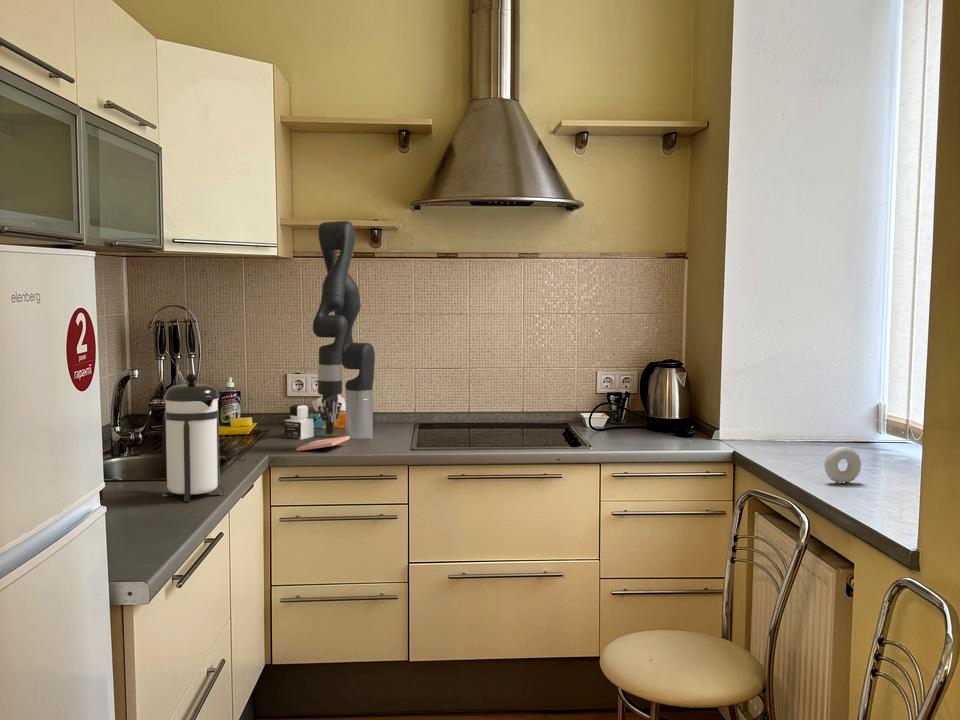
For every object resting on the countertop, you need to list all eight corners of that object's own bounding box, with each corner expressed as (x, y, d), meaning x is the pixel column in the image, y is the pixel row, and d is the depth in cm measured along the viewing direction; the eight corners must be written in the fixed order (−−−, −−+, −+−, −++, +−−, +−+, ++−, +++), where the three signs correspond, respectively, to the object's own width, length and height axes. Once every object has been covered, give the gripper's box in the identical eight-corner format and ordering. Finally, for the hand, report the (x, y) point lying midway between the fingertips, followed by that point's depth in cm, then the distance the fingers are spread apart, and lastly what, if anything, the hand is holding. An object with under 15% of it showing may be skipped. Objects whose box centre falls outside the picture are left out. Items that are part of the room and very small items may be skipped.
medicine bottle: (284, 440, 291) (283, 405, 291) (297, 437, 298) (297, 403, 297) (300, 442, 288) (300, 407, 287) (314, 439, 294) (314, 404, 294)
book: (315, 440, 279) (349, 435, 276) (316, 444, 279) (350, 439, 277) (296, 447, 266) (331, 442, 263) (297, 451, 266) (332, 446, 263)
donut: (855, 481, 232) (857, 445, 231) (863, 484, 229) (864, 447, 228) (821, 482, 231) (822, 445, 230) (828, 485, 227) (829, 447, 226)
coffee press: (232, 487, 219) (231, 370, 217) (215, 502, 203) (213, 376, 201) (164, 488, 219) (161, 370, 216) (141, 503, 203) (138, 376, 200)
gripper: (332, 381, 261) (332, 437, 262) (349, 377, 274) (349, 431, 275) (309, 380, 263) (309, 436, 264) (327, 377, 275) (327, 430, 276)
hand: (330, 434), depth 269 cm, fingers closed
